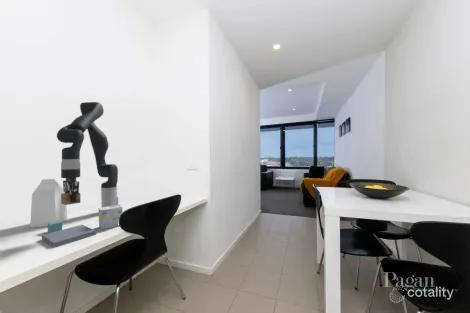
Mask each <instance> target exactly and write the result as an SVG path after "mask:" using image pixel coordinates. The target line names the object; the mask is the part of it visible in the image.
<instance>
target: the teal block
mask: <svg viewBox="0 0 470 313" xmlns="http://www.w3.org/2000/svg"><path fill="white" fill-rule="evenodd" d="M60 230H63V222H61V221H55V222H51V223H48V226H47V232H48V233H52V232H56V231H60Z"/></svg>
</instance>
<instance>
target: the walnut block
mask: <svg viewBox="0 0 470 313" xmlns="http://www.w3.org/2000/svg"><path fill="white" fill-rule="evenodd" d="M61 204H64V205H66V206H67V205H68V206H69V205H74V204H81V192H79V193H77V194H76V202H70V193H62V194H61Z"/></svg>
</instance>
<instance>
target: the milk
mask: <svg viewBox="0 0 470 313" xmlns="http://www.w3.org/2000/svg"><path fill="white" fill-rule="evenodd" d="M62 193H65V192H63V185H61V184H60V183H59V182H58V181H57V178H43V179H41V182H40V183H39V184H38V185H37V187H36V188H35V189H34V191H33V192H32V195H31V208H30V226H29V228H37V227H38V228H40V227H48V223H51V222H55V221H61V222H62V223H63V222H65V221H66V220H68V211H67V205H64V204H61V194H62Z"/></svg>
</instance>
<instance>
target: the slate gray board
mask: <svg viewBox="0 0 470 313" xmlns="http://www.w3.org/2000/svg"><path fill="white" fill-rule="evenodd" d="M95 235H97V230H95V229H93V228H91V227H89V226H86V225H83V224H79V225H75V226H72V227H68V228H64V229H63V228H62V230H60V231H56V232H52V233H49V232H48V233H45V234H42V235H41V240H42V241H44V242H45V243H47V244H48V245H49V246H51V247H53V248H58V247H61V246H64V245H66V244H69V243H73V242H77V241H79V240H82V239H86V238H90V237H92V236H95Z"/></svg>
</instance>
